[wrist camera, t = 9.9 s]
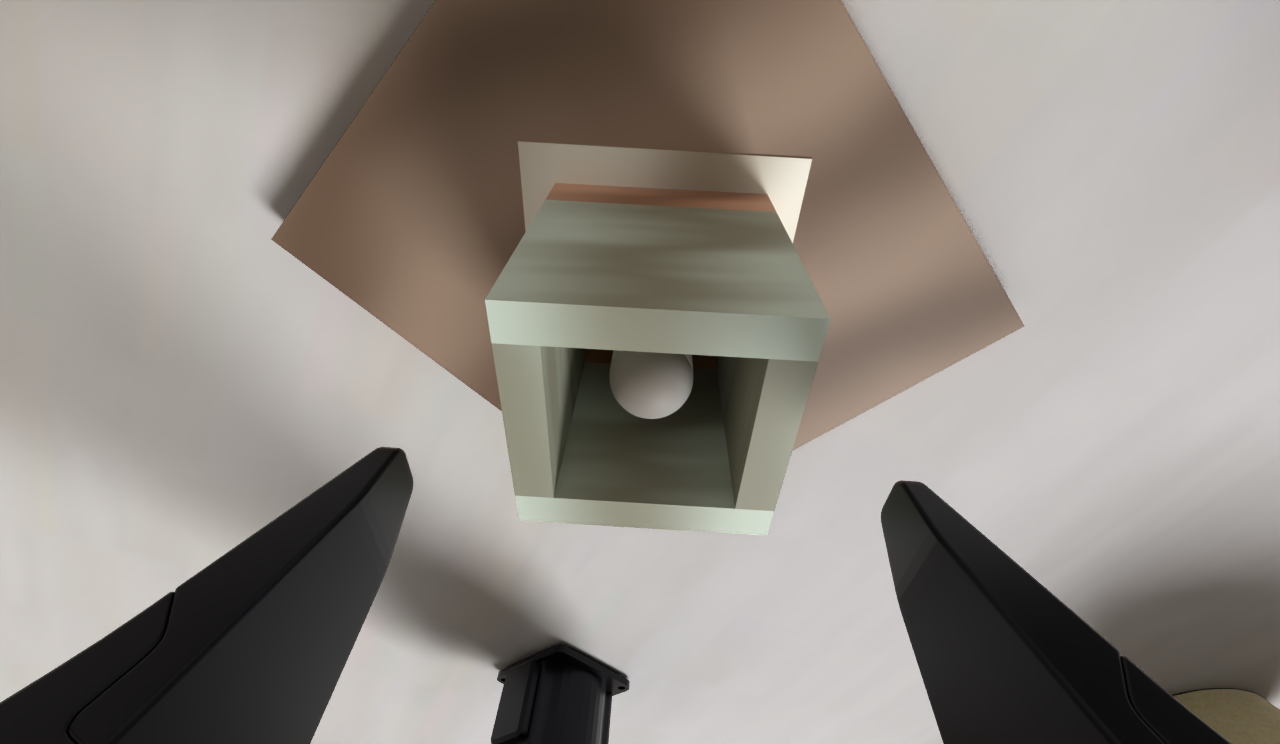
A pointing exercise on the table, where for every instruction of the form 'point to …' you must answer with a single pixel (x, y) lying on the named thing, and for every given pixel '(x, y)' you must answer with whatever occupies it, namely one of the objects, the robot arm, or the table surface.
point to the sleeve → (662, 323)
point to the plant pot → (1235, 715)
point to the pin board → (650, 180)
